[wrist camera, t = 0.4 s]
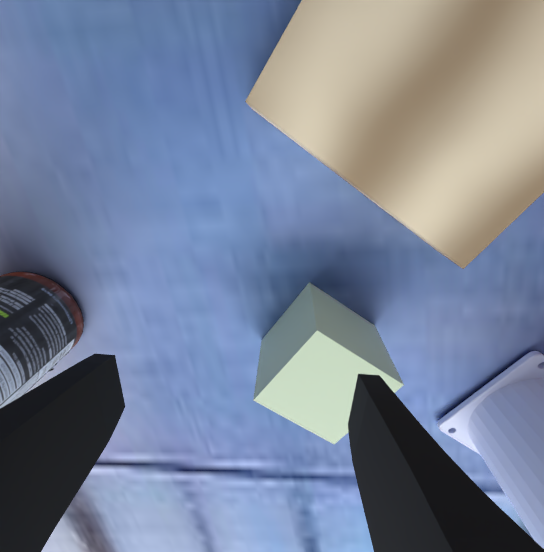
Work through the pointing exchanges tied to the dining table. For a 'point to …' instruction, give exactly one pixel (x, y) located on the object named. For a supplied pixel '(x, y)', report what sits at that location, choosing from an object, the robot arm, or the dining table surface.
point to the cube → (319, 363)
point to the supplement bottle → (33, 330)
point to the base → (418, 108)
